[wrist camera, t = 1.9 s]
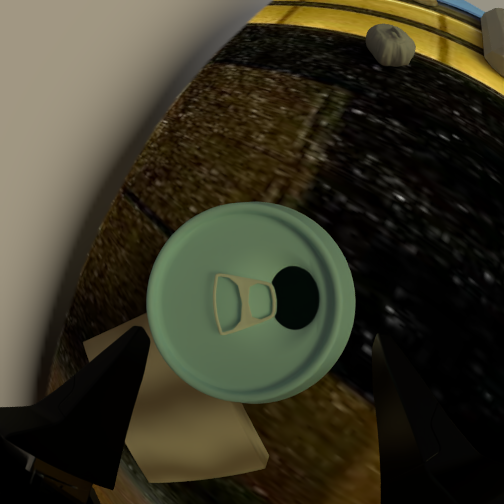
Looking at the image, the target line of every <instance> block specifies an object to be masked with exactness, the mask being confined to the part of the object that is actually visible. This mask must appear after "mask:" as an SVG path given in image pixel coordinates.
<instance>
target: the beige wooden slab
mask: <svg viewBox="0 0 504 504" xmlns="http://www.w3.org/2000/svg"><path fill="white" fill-rule="evenodd" d="M132 326H142V327H143V328H144V329H145V331H146V333H147V334H148V336H149V338H150V348H149V353H148V358H147V363H146V368H145V372H144V376H143V380H142V383H141V386H140V389H139V393H138V396H137V399H136V403H135V406H134V410H133V413H132V417H131V420H130V424H129V428H128V431H127V435H126V439H125V443H126V445H127V447H128V448H129V450H130V452H131V454H132V455H133V457H134V459H135V460H136V462H137V464H138V465H139V467H140V469H141V470H142V472H143V473H144V475H145V476H146V478H147V479H148V481H149V482H150V483H162V482H181V481H193V480H202V479H210V478H218V477H224V476H230V475H236V474H241V473H246V472H251V471H255V470H260V469H264V468H265V467H266V464H267V461H268V457H269V454H268V453H267V451H266V449H265V447H264V445H263V444H262V442H261V440H260V438H259V436H258V434H257V432H256V431H255V429H254V427H253V425H252V423H251V421H250V419H249V417H248V415H247V413H246V411H245V409H244V407H243V405H242V403H240V402H231V401H225V400H221V399H217V398H214V397H211V396H209V395H206V394H204V393H202V392H200V391H198V390H196V389H195V388H193V387H191V386H190V385H189V384H187V383H186V382H185V381H183V380H182V379H181V378H180V377H179V376H178V375H176V374H175V372H174V371H173V370H172V369H171V368H170V367H169V366H168V364H167V363H166V362H165V360H164V359H163V357H162V356H161V354H160V352H159V351H158V349H157V347H156V345H155V342H154V340H153V337H152V334H151V331H150V327H149V323H148V318H147V313H145V314H143V315H141V316H139V317H136V318H134V319H132V320H130V321H128V322H126V323H124V324H121V325H119V326H117V327H115V328H113V329H111V330H109V331H106V332H104V333H102V334H100V335H98V336H96V337H93V338H91V339H89V340H87V341H85V342H83V344H84V348H85V351H86V354H87V357H88V359H89V362H90V361H91V360H93V359H94V358H95V357H96V356H97V355H99V354H100V353H101V352H102V351H103V350H105V349H106V348H107V347H108V346H109V345H111V344H112V343H113V342H114V341H115V340H117V339H118V338H119V337H120V336H121V335H123V334H124V333H125V332H126V331H127V330H129V329H130V328H131V327H132Z"/></svg>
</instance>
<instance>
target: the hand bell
mask: <svg viewBox="0 0 504 504" xmlns="http://www.w3.org/2000/svg"><path fill="white" fill-rule="evenodd" d="M413 1H415V2H418V3H420V4H424V5H428V6H437V5H438V3H437V1H436V0H413Z"/></svg>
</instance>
